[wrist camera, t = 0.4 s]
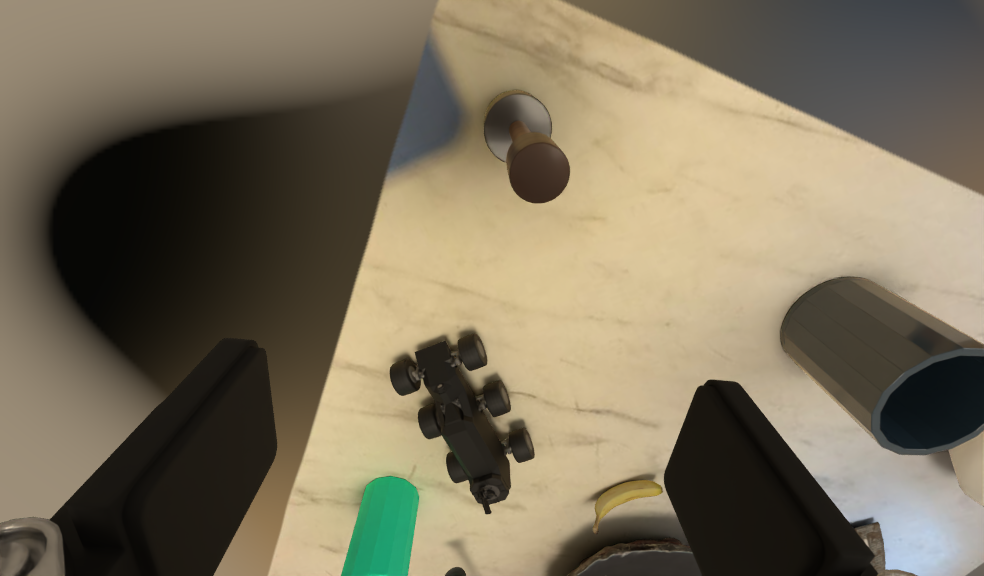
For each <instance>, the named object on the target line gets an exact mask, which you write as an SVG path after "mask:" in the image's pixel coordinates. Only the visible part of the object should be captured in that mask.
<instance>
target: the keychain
mask: <svg viewBox="0 0 984 576" xmlns="http://www.w3.org/2000/svg"><path fill="white" fill-rule="evenodd" d="M854 530H855V531H856V532H857V533H858V535H859V536H860V537H861V538H862V540H863V541H864V542H865V543H866V545H867V546H868V547H869V549H870V550H871V551H872V552H873V554H874V555H875V557H874V558H873V560H872V561H871V562H870V563H871V564H872V566H873V567H874V568H875V570H876V571H877V572H878V573H881V572H883V571H884V570H885V552H884V542H883V538H882V534H881V529H880V525H879V523H878V522H876V523H872V524H868V525H864V526H861V527H857V528H854Z"/></svg>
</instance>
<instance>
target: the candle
mask: <svg viewBox="0 0 984 576" xmlns="http://www.w3.org/2000/svg"><path fill="white" fill-rule="evenodd" d="M418 502H419V495H418V492H417V490H416V487H415V486H413V485H412V484H411V483H409V482H408V481H407V480H405V479H401V478H397V477H392V476H389V477H382V478H376V479H375V480H374V481H372V482H371V483H369V484H368V485H367V486H366V489H365V492H364V495H363V499H362V502H361V506H360V509H359V513H358V517H357V520H356V524H355V527H354V531H353V535H352V538H351V542H350V545H349V549H348V552H347V556H346V560H345V563H344V567H343V570H342V574H341V576H408V569H409V563H410V556H411V549H412V543H413V536H414V529H415V522H416V516H417V509H418Z"/></svg>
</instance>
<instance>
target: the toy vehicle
mask: <svg viewBox="0 0 984 576" xmlns="http://www.w3.org/2000/svg"><path fill="white" fill-rule="evenodd" d="M415 355H416V359H417V363H418V365H417V367H416V365H415V364H414V362H413V361H411V360H410V359H406V360H403V361H400V362H397V363H395V364H393V365H392V366H391V367H390V379H391V382H392V385H393V387H394V389H395V391H396V392H397V393H398V394H399V395H401V396H404V395H407V394H411V393H413V392H415V391H418V390H419V389H420V386H421V378H423V380H424V384H425V386H426V388H427V389H428V391H429V393H430V394H431V396H432V397H433V399H434V401H435V404H431V405H428V406H425V407H423V408H421V409H420V410H419V412H418V422H419V426H420V429H421V431H422V433H423V435H424V436H425V437H426V438H427V439H432V438H436V437H439V436H441V435H442V436H443V438H444V439H445V441H446V443H447V444H448V446H449V447H450V449H451V450H452V452H450V453H448V454H447V457H446V464H447V470H448V473H449V475H450V478H451V479H452V481H453V482H454V483H460V482H463V481H466V480H469V483H470V491H471V493H472V495H474V497H475V499H476V501H477V502H478V503H480V504H483V507H484V510H485V514H490V513H491V510H490V507H489V505H490V504H494V503H497V502H499V501H503V500H505V499H506V498H507V496H508V494H509V489H510V488H511V481H510V465H509V460H508V458H507V457H506V454H507V452H508V454H511V453H513V456H514V458H515V460H516V461H517V462H518V463H521V462H525V461H528V460H531V459H533V458H534V455H535V454H534V448H533V444H532V441H531V438H530V436H529V433H528V432H527V430H526V429H525V428H520V429H517V430H514V431H512V432H510V433H509V439H506V440H502V441H500V440H499V438H498V437H497V435H496V433H495V431H494V430H493V428H492V426H491V424H490V423H489V421H488V419H487V417H486V416H485V414H484V412H483V410H485V409H486V408H488V410H489V412H490V413H491V415H492V416H493V417H496V416H500V415H503V414H505V413H508V412H510V410H511V405H510V400H509V396H508V394H507V391H506V389H505V386H504V385H503V383H502V382H501V381H496V382H493V383H490V384H487V385H485V386H484V387H483V394H482V395H479V396H477V397H475V396H474V395H473V393H472V391H471V389H470V387H469V386H468V384H467V382H466V380H465V379H464V377H463V375H462V373H461V372H460V370H459V368H458V366H457V365H456V364H458V365H461V364H462V362H463V364H464V365H465V367H466V368H467V369H468V370H469V371H472V370H475V369H478V368H481V367H483V366H486V365H487V355H486V352H485V349H484V346H483V344H482V341H481V339H480V338H479V336H478V335H477V334H475V333H474V334H471V335H468V336H465V337H463V338H461V339H459V340H458V350H457V351H453V352H451V349H450V348H449V346H448V344H447V342H446V341H443V342H440V343H438V344H435V345H432V346H430V347H427V348H424V349H422V350H419V351H417V352H415ZM453 355H455V357H456V358H455V357H454V356H453ZM479 399H480V401H481V402H480V401H479ZM482 408H483V410H482ZM504 444H505V445H506V446H504Z"/></svg>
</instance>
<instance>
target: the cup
mask: <svg viewBox="0 0 984 576" xmlns="http://www.w3.org/2000/svg"><path fill="white" fill-rule="evenodd" d="M949 454H950V457H951V460H952V464H953V467H954V470H955V473H956V476H957V480H958V483H959V486H960V488H961V489H962V490H963V492H964V493H965V494H966V495H967V496H968V497H970V498H971V499H973V500H974V501H976V502H977V503H979V504H980V505H982V506H983V507H984V431H983V432H982V433H981V434H980V435H978V436H977V437H975V438H973V439H971V440H969V441H967V442H965V443H963V444H961V445H959V446H957V447H955V448H953V449H949Z"/></svg>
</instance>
